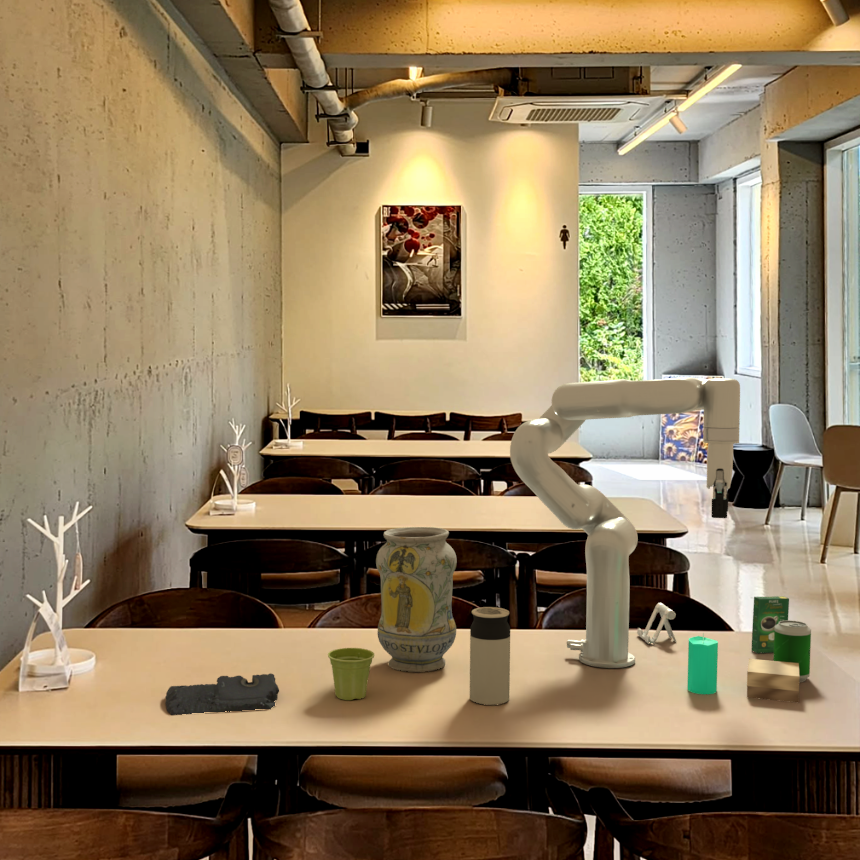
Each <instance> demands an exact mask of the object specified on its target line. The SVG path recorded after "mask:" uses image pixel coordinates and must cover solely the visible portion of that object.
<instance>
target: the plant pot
mask: <svg viewBox="0 0 860 860" xmlns="http://www.w3.org/2000/svg"><path fill="white" fill-rule="evenodd" d="M327 657H328V658H329V661H330V662H329V663H330V665H331V670H332V676H333V678H332V679H333V686H334V693H335V694H334V695H335V697H337V698H338V699H340V700H343V701H344V700H345V701H353V700H355V699H356V700H361V698H362V699H363V698H365V697H366V696H367V689H368V684H369V683H368V681H369V675H370V669H371V665H372V662H373V659H374V657H375V653H374V651H372V650H370V649H365V648H360V647H345V648H344V647H343V648H337V649H333V650H331V651H329V652H327Z"/></svg>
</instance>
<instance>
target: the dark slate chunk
mask: <svg viewBox="0 0 860 860" xmlns="http://www.w3.org/2000/svg"><path fill="white" fill-rule="evenodd" d="M251 678H252V679H251V681H250V682H248V681H249V680H248V679H247V678H245V677H244V676H243V675H235V676H228V675H220V676H218V678H217V679H216V683H211V684H210V683H209V684H208V683H205V684H202V683H200V684H191V685H171V686H169V687H168V689H167V691H166V693H165V694H166V695H165V706H166V712H168V713H169V714H170V716H183V715H182V714H186V715H193V714H192V713H204V712H225V711H227V712H225V713H231V712H230V711H241V712H243V711H242V710H255V709H270V710H272V709H271V708H272V707H273V706H275V703H276V701H277V700H278V695H279V693H280V689H279V685H278V684H277V682H276V676H275V674H273V673H271V672H270V673H268V674H265V673H262V674H253V675H252V677H251ZM275 700H276V701H275ZM274 701H275V702H274ZM273 708H274V707H273ZM228 711H229V712H228Z"/></svg>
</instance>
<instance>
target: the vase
mask: <svg viewBox="0 0 860 860" xmlns="http://www.w3.org/2000/svg"><path fill="white" fill-rule="evenodd" d="M449 535H450V532H449V530H448V529H445V528H441V527H433V526H432V527H431V526H410V527H408V526H407V527H399V528H398V527H397V528H391V529H387V530H386V531H384V532H383V538H384V539H385V540H386V543H384V544H383V545H382V546H381V547H380V548H379V550H378V551H377V554H376V558H375V564H376V569H377V572H378V573H379V575H380V576H379V577H380V597H381V599H380V600H381V615H380V619H379V621H378V625H377V634H376V635H377V639H378V641H379V644H380V645H381V646H382V647H381V648H382V649H383V650H384V651H385V652H386V653H387V654H388V655H389V656H391V659H390V660H389V661H388V663H387V664H388V667H390V668H391V669H393V670H395V669H397V670H396V671H400V670H401V672H406V671H408V672H407V673H426V672H425V671H428V672H432V671H437V669H438V670H441V669H442V668H444V667H445V665H446V659H444V655H445V654H446V652H447V653H448V651H449V650H450V648H451V647H452V646H453V644H454V642H455V640H456V638H457V637H456V635H457V625H456V622H455V619H454V617H453V613H452V612H453V611H452V609H453V608H452V601H453V581H454V580H453V578H454V577H453V575H454V572H455V570H456V568H457V563H458V562H457V560H458V559H457V555H456V552H455V550H454V548H452V546H451V545H450V544H449V543H447V541H446V540H447V538H448V537H449ZM440 668H441V669H440Z"/></svg>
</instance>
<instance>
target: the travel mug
mask: <svg viewBox="0 0 860 860" xmlns="http://www.w3.org/2000/svg"><path fill="white" fill-rule="evenodd" d="M471 614H472V615H473V621H472V624H471V625H470V628H469V629H470V631H469V632H470V633H469V635H470V636H469V647H470V648H469V699H470V701H472V702H473V703H475V702H476V703H475V704H478V703H479V705H482V704H485V705H484V706H497V704H499V705H503V704H505V703H507V702H508V701H510V690H511V689H510V686H511V685H510V684H511V683H510V681H511V680H510V679H511V678H510V675H511V673H510V672H511V668H510V666H511V626H510V624H509V623H508V617H509V615H510V611H509V610H508V609H505V608H502V607H495V606H483V607H477V608H474V609H472V610H471ZM502 703H503V704H502Z"/></svg>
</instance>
